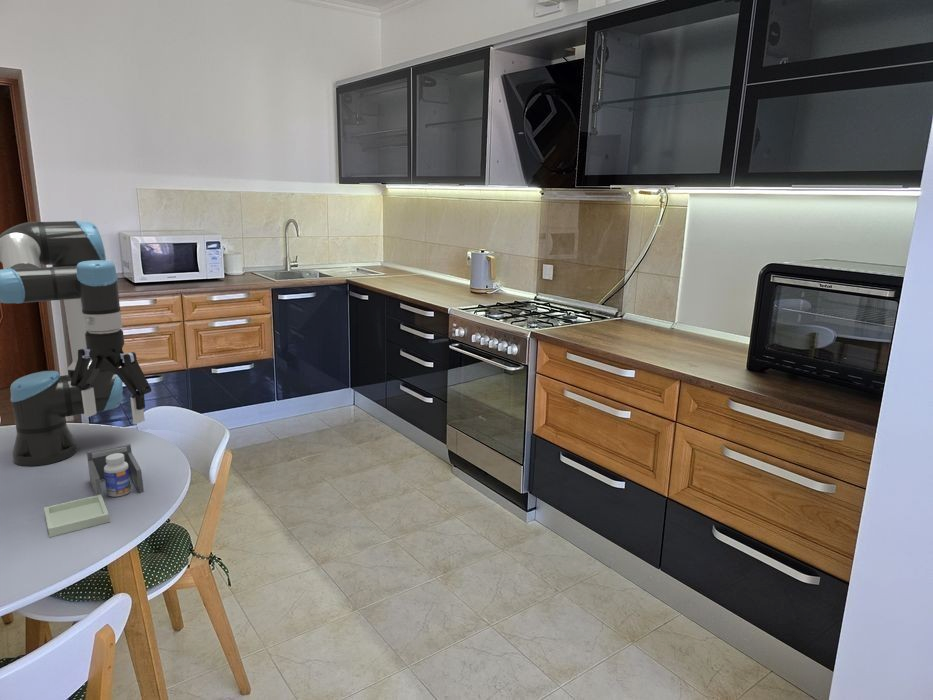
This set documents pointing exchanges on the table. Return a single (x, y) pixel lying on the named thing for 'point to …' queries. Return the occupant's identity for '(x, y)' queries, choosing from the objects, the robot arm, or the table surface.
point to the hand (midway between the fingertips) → (114, 418)
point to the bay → (99, 462)
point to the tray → (76, 515)
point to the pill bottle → (117, 475)
